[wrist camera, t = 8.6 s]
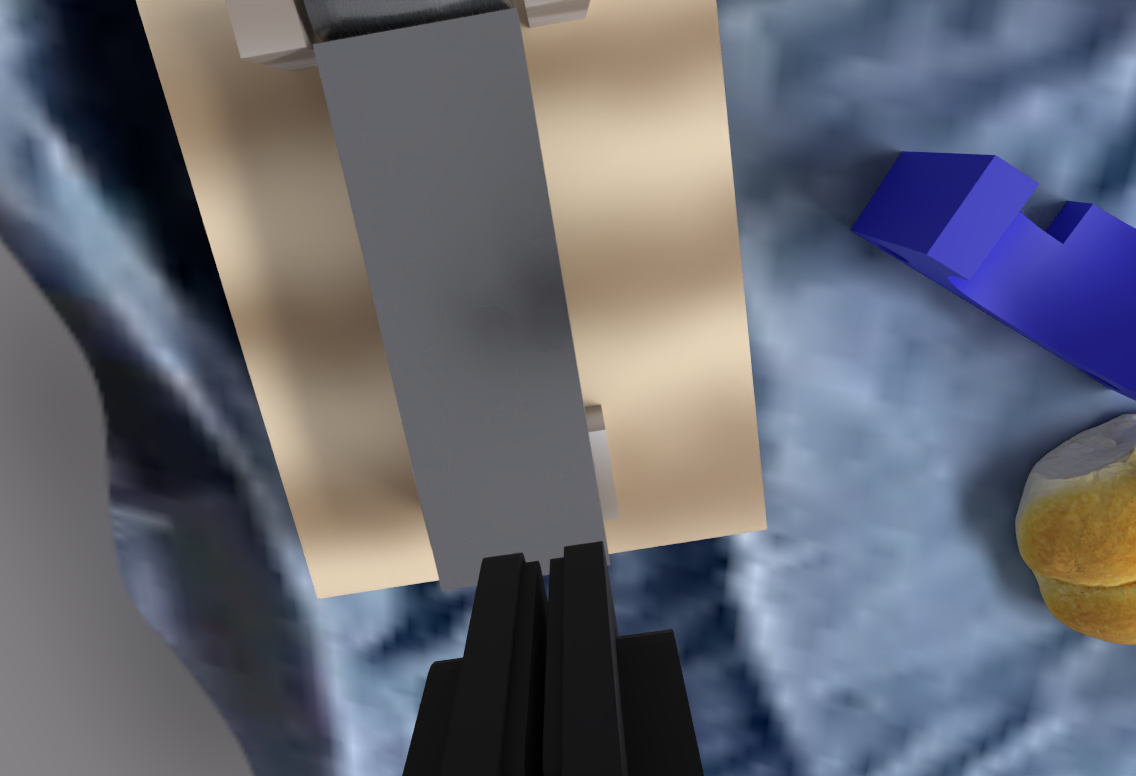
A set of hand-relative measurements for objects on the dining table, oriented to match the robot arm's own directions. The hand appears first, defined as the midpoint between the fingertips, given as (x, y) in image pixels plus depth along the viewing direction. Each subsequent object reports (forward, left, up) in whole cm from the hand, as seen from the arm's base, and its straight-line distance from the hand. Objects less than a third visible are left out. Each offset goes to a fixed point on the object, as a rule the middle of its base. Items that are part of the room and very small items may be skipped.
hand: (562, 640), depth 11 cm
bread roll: (+11, +20, -18) cm, 29 cm away
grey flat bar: (-3, -2, -13) cm, 13 cm away
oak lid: (-3, -2, -18) cm, 18 cm away
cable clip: (0, +17, -18) cm, 25 cm away
